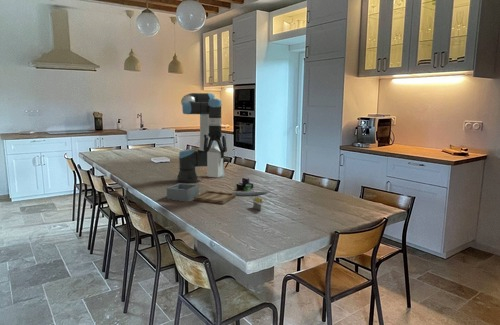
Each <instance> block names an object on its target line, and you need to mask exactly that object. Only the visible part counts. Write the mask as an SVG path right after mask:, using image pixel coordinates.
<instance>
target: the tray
mask: <svg viewBox="0 0 500 325" xmlns="http://www.w3.org/2000/svg"><path fill="white" fill-rule="evenodd" d="M236 197H237V195H236V194H234V193H231V192H227V193H226V191H221V192H220V191H215V190H205V191H204V192H202V193H199V195H197V196H195V197H194V199H193V201H194V200H196V202H202V201H203V203H209V204H217V203H218V204H219V205H225V204H226V203H229V201H231V200H233V199H235V198H236Z"/></svg>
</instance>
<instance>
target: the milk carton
mask: <svg viewBox="0 0 500 325" xmlns="http://www.w3.org/2000/svg"><path fill="white" fill-rule="evenodd" d="M206 167H207V168H206V169H207V171H206V172H207V173H206V174H207V176H206V177H210V178H218V177H220V176H222V175H223V168H224V167H223V163H222V164H220V149H219V146H218V144H214V145H213V144H212V147H211V148H210V150H209V151H208V152H207V166H206ZM220 178H221V177H220Z"/></svg>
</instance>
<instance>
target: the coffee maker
mask: <svg viewBox="0 0 500 325" xmlns="http://www.w3.org/2000/svg"><path fill="white" fill-rule="evenodd" d="M225 163H226V164H225ZM229 164H230V160H229V159H228V158H226V157H224V158H223V175H222V176H220V177H217V178H225V177H226V175H225V174H226V173H225V170H224V169H227V168H228V165H229Z"/></svg>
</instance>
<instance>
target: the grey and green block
mask: <svg viewBox="0 0 500 325" xmlns="http://www.w3.org/2000/svg"><path fill="white" fill-rule="evenodd" d="M250 200H251V201H252V202H253V204H252V206H253V208H254V209H255V210H257V209H258V210H257V211H259V210H260V211H259V212H261V211H262V205H263V204H265V201H263V199H262V198H260V197H258V196H253V198H251V199H250Z"/></svg>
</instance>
